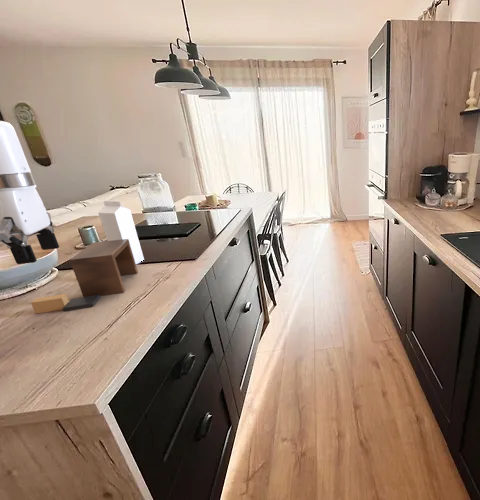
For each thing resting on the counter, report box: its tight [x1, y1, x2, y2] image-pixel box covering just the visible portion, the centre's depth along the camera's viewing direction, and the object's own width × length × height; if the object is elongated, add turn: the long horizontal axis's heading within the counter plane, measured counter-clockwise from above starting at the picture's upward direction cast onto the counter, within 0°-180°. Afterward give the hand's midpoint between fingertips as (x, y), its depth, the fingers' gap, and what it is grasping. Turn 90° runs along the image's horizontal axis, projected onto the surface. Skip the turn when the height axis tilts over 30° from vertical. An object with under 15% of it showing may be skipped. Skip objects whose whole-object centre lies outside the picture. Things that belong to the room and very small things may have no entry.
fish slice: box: [30, 293, 102, 315], centre depth 74 cm, size 12×5×3 cm, turn 112°
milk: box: [97, 200, 145, 265], centre depth 97 cm, size 6×6×22 cm
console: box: [69, 239, 139, 297], centre depth 84 cm, size 9×15×12 cm, turn 22°
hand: (39, 255), depth 68 cm, fingers open, 9 cm apart
